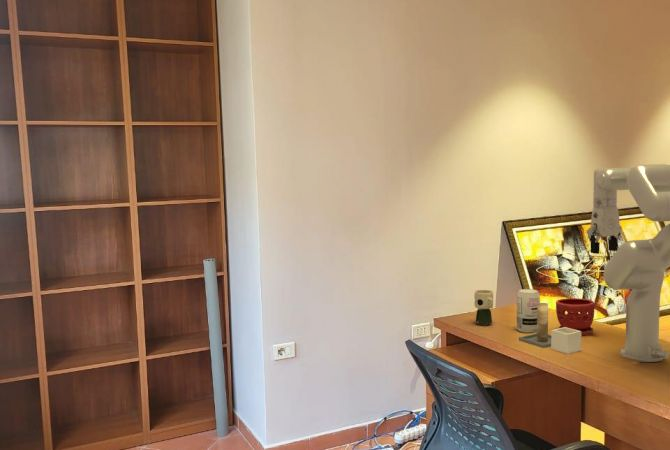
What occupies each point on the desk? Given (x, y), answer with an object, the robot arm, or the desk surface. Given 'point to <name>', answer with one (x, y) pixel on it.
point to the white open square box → (566, 340)
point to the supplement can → (527, 310)
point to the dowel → (542, 322)
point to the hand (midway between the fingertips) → (604, 251)
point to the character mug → (483, 306)
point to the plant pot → (576, 314)
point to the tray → (533, 340)
